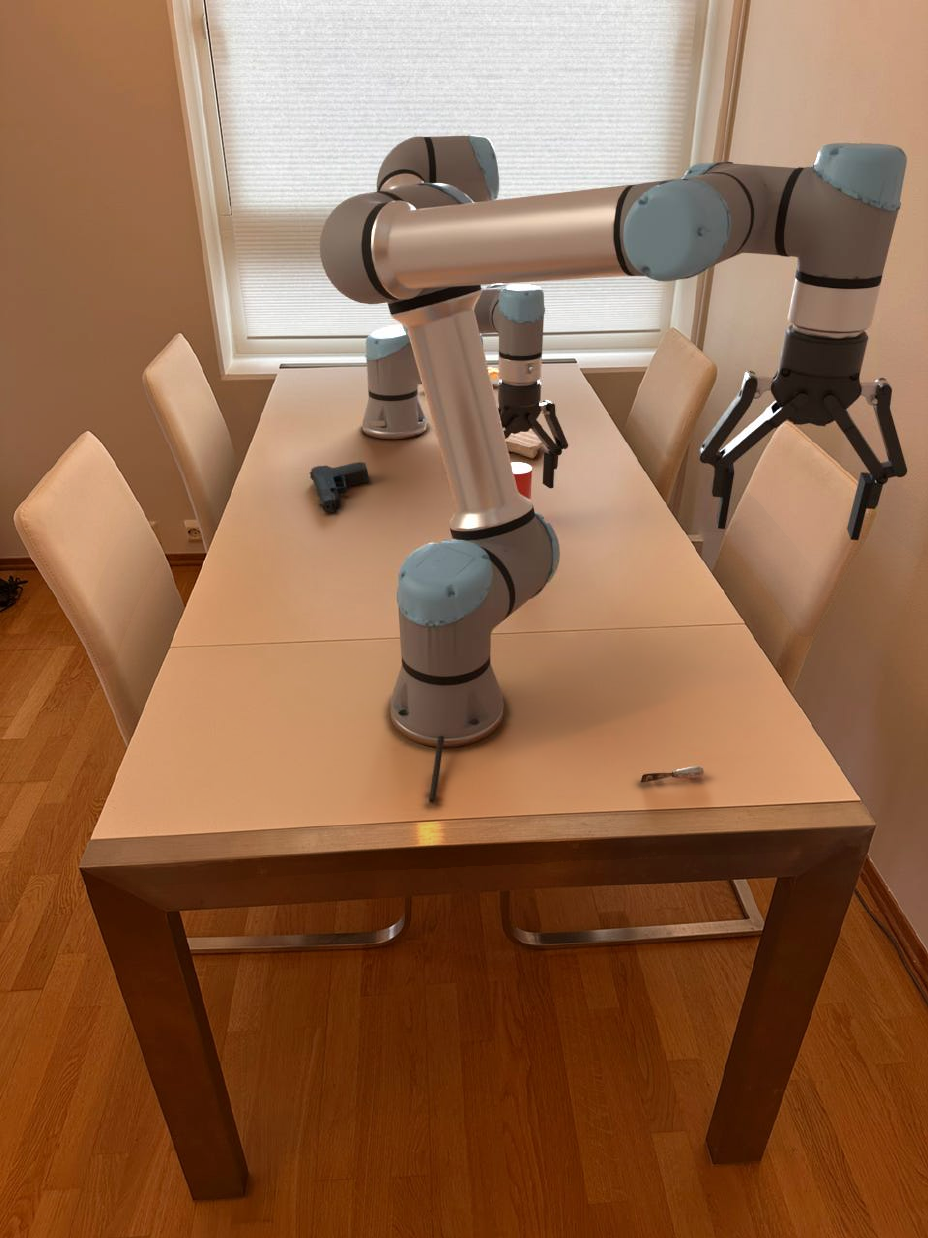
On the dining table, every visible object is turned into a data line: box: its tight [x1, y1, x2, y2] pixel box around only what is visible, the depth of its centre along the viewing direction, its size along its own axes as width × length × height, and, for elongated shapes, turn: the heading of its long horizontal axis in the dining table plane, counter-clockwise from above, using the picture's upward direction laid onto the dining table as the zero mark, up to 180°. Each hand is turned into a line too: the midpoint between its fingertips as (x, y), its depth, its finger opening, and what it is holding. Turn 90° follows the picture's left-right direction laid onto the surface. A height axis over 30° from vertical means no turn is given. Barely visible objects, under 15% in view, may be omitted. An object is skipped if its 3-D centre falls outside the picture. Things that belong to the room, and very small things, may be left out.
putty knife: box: [640, 765, 705, 784], centre depth 109 cm, size 1×8×2 cm, turn 103°
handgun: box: [309, 461, 369, 514], centre depth 182 cm, size 3×18×12 cm
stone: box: [503, 428, 544, 459], centre depth 203 cm, size 13×12×3 cm
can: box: [511, 461, 533, 501], centre depth 167 cm, size 6×6×11 cm
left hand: (516, 492), depth 167 cm, fingers open, 13 cm apart
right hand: (785, 529), depth 96 cm, fingers open, 13 cm apart
